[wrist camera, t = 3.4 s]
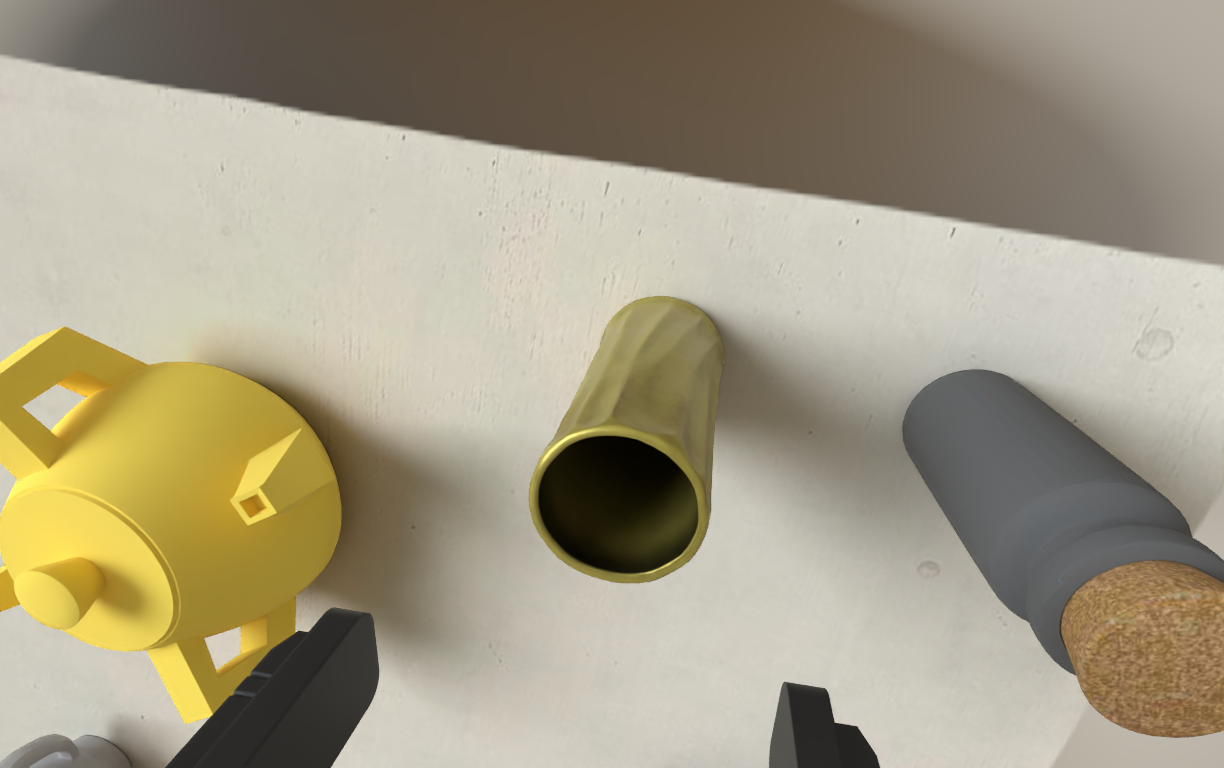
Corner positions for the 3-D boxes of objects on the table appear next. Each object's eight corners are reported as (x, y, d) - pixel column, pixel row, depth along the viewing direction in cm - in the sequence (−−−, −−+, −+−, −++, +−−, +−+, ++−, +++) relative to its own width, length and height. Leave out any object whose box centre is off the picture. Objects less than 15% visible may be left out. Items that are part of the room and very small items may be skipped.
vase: (725, 410, 31) (729, 601, 18) (606, 413, 32) (527, 595, 19) (720, 291, 29) (721, 407, 16) (594, 298, 30) (496, 413, 17)
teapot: (127, 291, 34) (-154, 357, 23) (399, 411, 34) (246, 536, 23) (111, 519, 41) (-114, 656, 30) (340, 621, 41) (198, 796, 30)
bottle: (1053, 377, 28) (1382, 600, 14) (1010, 488, 30) (1259, 777, 16) (919, 359, 29) (1106, 554, 15) (886, 469, 31) (1023, 729, 17)
